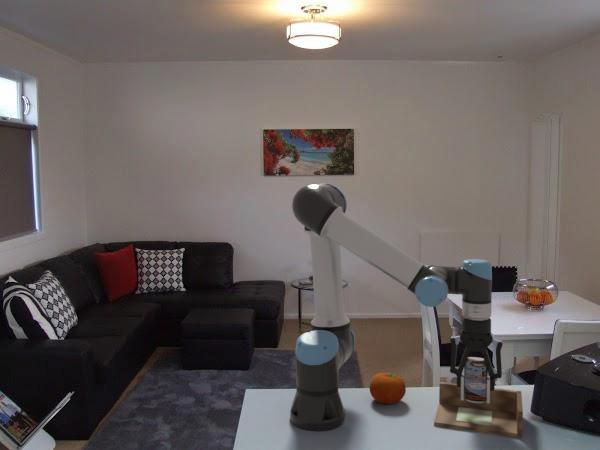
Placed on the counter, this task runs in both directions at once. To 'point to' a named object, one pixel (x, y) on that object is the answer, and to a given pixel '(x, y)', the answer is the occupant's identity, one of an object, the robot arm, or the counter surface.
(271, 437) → the counter surface
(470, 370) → the labeled jar
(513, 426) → the tray
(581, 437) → the counter surface
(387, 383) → the fruit
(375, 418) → the counter surface
